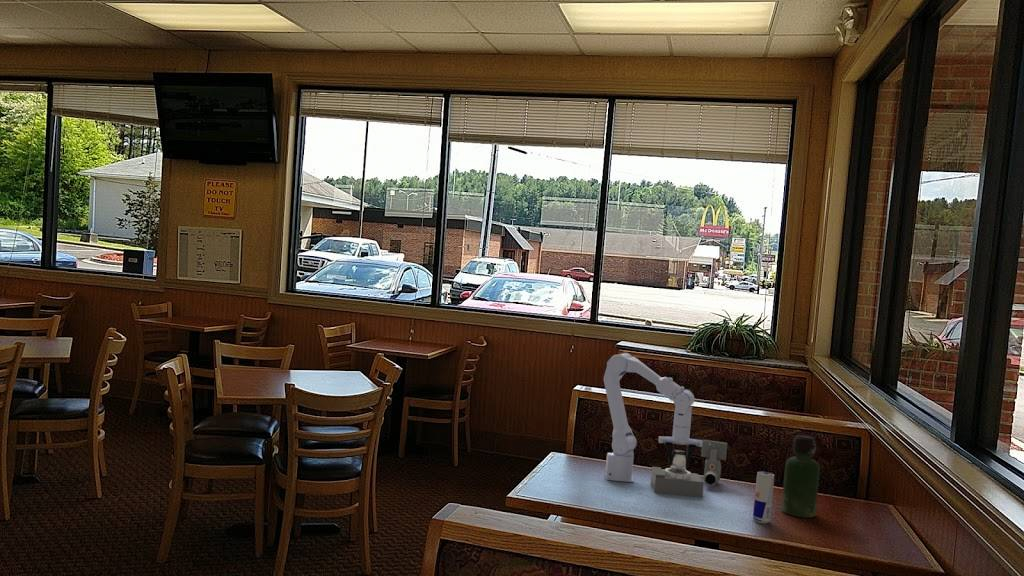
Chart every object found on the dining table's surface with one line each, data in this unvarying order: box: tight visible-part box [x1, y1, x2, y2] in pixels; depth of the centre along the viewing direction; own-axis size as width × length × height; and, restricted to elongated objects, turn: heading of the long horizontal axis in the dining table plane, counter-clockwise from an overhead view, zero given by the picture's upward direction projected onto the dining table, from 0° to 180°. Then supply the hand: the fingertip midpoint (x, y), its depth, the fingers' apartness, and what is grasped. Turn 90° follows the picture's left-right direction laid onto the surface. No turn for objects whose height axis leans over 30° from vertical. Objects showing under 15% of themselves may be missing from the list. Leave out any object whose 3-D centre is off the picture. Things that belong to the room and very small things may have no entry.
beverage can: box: [752, 471, 775, 524], centre depth 248 cm, size 5×5×15 cm
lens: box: [670, 449, 687, 473], centre depth 276 cm, size 5×5×7 cm
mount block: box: [650, 466, 705, 498], centre depth 276 cm, size 16×11×6 cm
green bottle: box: [780, 434, 821, 519], centre depth 260 cm, size 10×10×25 cm
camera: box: [700, 439, 728, 487], centre depth 287 cm, size 9×12×15 cm
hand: (678, 465), depth 276 cm, fingers closed on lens, 5 cm apart
